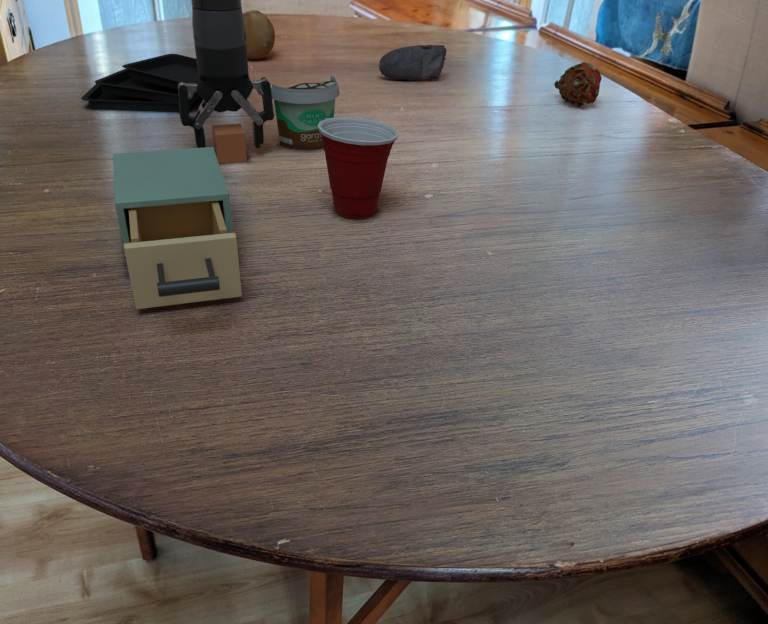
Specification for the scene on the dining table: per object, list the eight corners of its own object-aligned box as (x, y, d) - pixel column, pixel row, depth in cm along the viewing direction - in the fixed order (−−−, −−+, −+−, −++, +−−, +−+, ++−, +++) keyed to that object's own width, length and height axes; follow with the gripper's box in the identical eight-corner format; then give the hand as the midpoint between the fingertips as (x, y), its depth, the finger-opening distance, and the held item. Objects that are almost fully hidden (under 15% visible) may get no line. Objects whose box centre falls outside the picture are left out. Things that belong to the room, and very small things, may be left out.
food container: (291, 157, 118) (288, 94, 112) (272, 146, 122) (269, 84, 116) (353, 144, 124) (354, 83, 118) (333, 133, 128) (333, 74, 122)
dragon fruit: (576, 121, 144) (564, 111, 154) (616, 96, 141) (601, 88, 152) (556, 83, 141) (545, 75, 151) (596, 56, 138) (582, 51, 149)
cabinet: (235, 263, 89) (229, 193, 84) (128, 275, 86) (114, 203, 80) (219, 211, 101) (213, 146, 95) (125, 219, 98) (112, 153, 92)
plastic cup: (409, 218, 101) (415, 133, 94) (340, 233, 97) (340, 144, 89) (371, 190, 109) (374, 109, 101) (306, 202, 104) (303, 118, 97)
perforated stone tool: (380, 83, 154) (381, 48, 150) (376, 76, 159) (377, 42, 154) (448, 82, 157) (451, 48, 152) (443, 76, 161) (446, 42, 156)
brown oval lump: (249, 51, 172) (245, 4, 166) (284, 57, 169) (282, 9, 162) (224, 59, 165) (220, 11, 159) (261, 66, 161) (258, 17, 155)
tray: (79, 118, 129) (72, 87, 126) (93, 81, 147) (88, 54, 144) (249, 114, 135) (247, 85, 132) (243, 79, 153) (241, 53, 150)
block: (247, 161, 116) (245, 132, 113) (218, 163, 115) (215, 134, 112) (242, 151, 119) (240, 123, 117) (214, 153, 118) (211, 125, 115)
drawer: (250, 323, 77) (244, 262, 72) (138, 338, 74) (125, 275, 70) (224, 239, 92) (219, 184, 88) (131, 248, 89) (120, 192, 85)
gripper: (264, 32, 111) (270, 137, 121) (168, 35, 107) (183, 143, 117) (272, 44, 105) (278, 153, 115) (172, 48, 102) (187, 160, 112)
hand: (230, 148), depth 116 cm, fingers open, 8 cm apart
